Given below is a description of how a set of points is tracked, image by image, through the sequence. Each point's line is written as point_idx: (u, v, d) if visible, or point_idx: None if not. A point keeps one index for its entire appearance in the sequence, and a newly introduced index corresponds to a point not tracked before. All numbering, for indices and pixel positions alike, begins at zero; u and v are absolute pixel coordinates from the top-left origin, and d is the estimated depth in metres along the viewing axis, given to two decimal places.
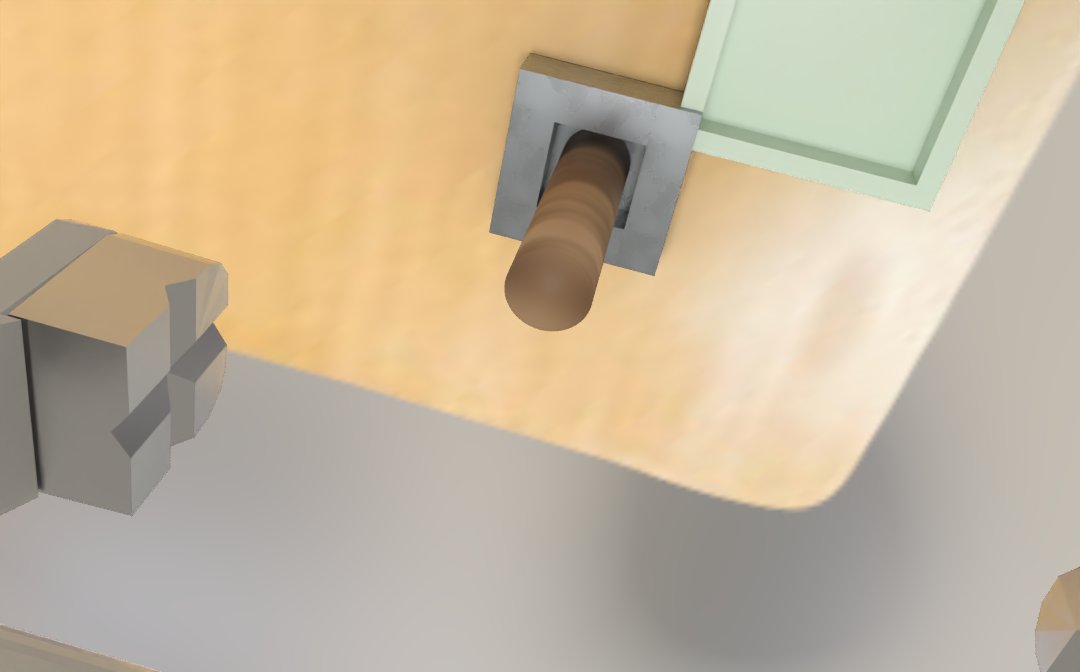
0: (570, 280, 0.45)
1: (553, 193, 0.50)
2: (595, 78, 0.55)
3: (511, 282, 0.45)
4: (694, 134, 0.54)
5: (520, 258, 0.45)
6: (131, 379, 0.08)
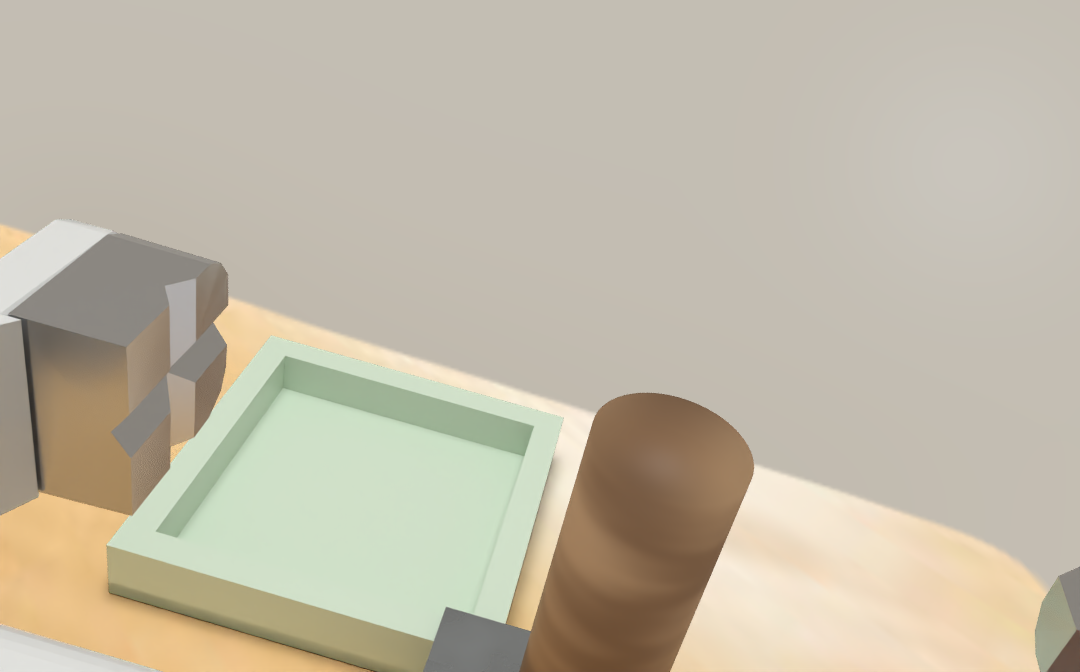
0: (640, 414, 0.25)
1: (544, 655, 0.27)
2: None
3: (666, 490, 0.23)
4: (475, 617, 0.36)
5: (613, 475, 0.23)
6: (131, 379, 0.08)
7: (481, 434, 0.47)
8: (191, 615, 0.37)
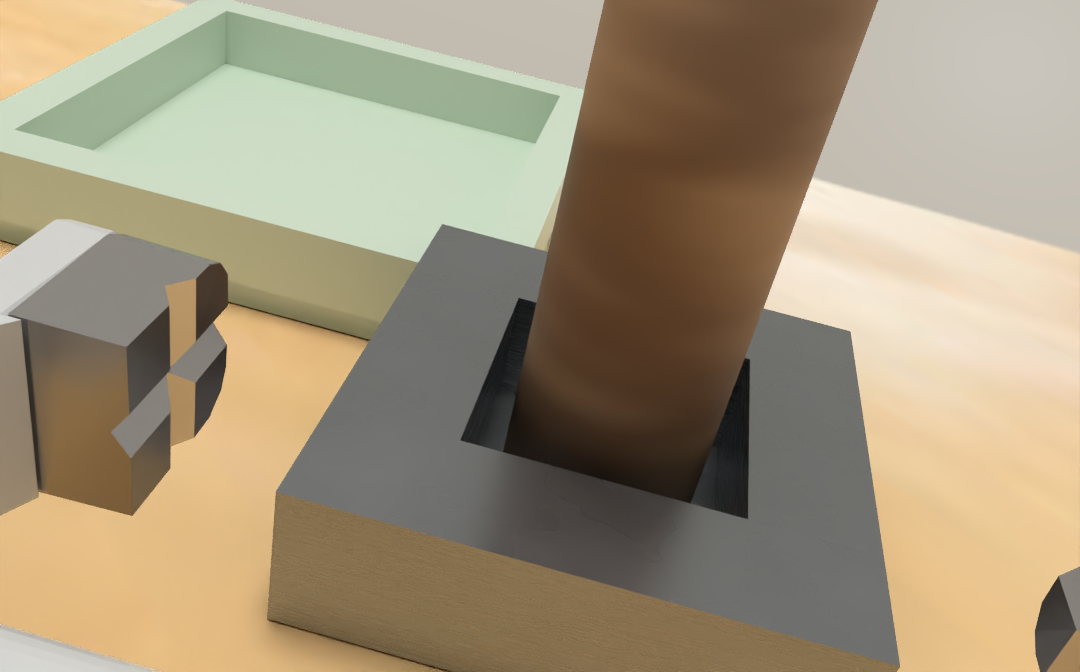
0: None
1: (613, 79, 0.15)
2: None
3: None
4: (486, 237, 0.24)
5: None
6: (131, 379, 0.08)
7: (489, 116, 0.35)
8: None
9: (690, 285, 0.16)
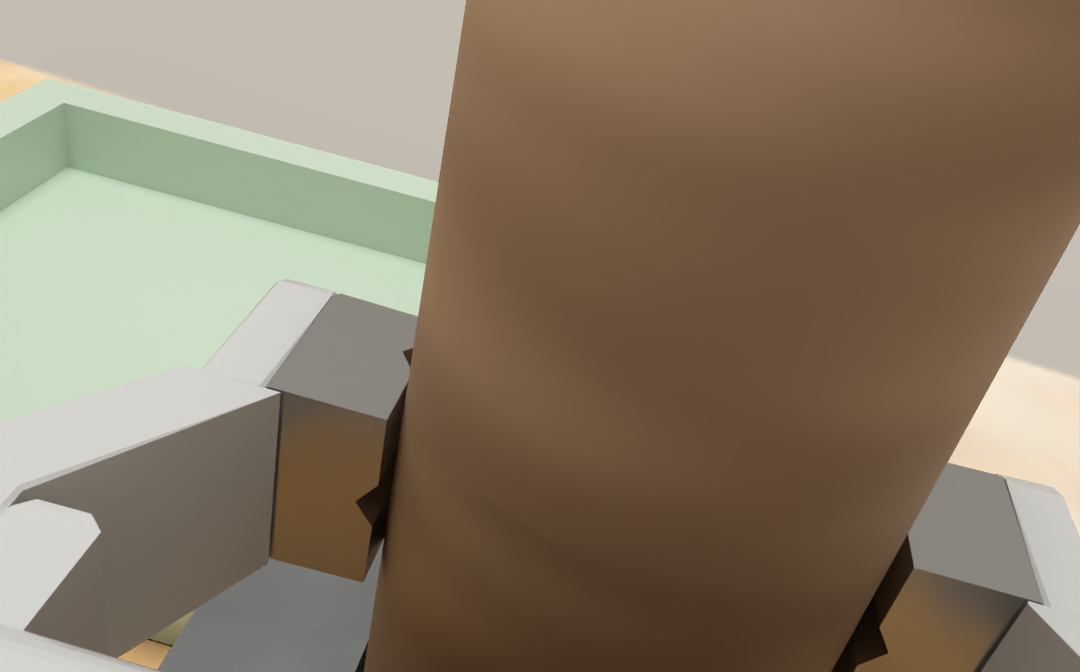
0: None
1: (422, 513, 0.07)
2: None
3: None
4: None
5: None
6: (383, 450, 0.08)
7: (404, 239, 0.27)
8: None
9: None
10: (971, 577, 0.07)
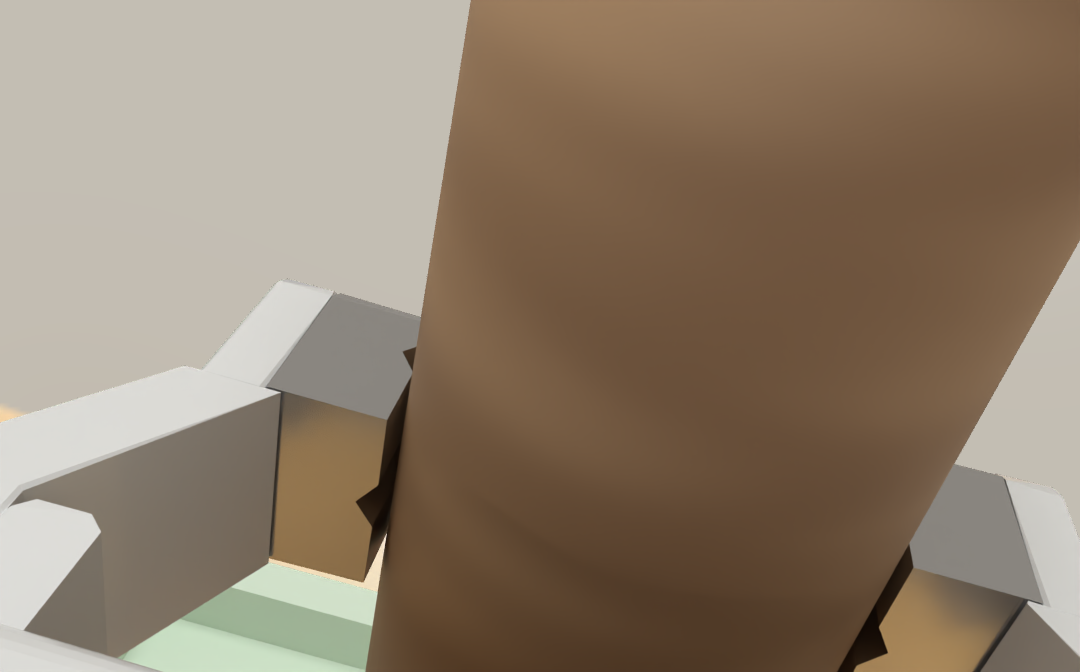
0: None
1: (424, 517, 0.07)
2: None
3: None
4: None
5: None
6: (382, 450, 0.08)
7: None
8: None
9: None
10: (971, 577, 0.07)
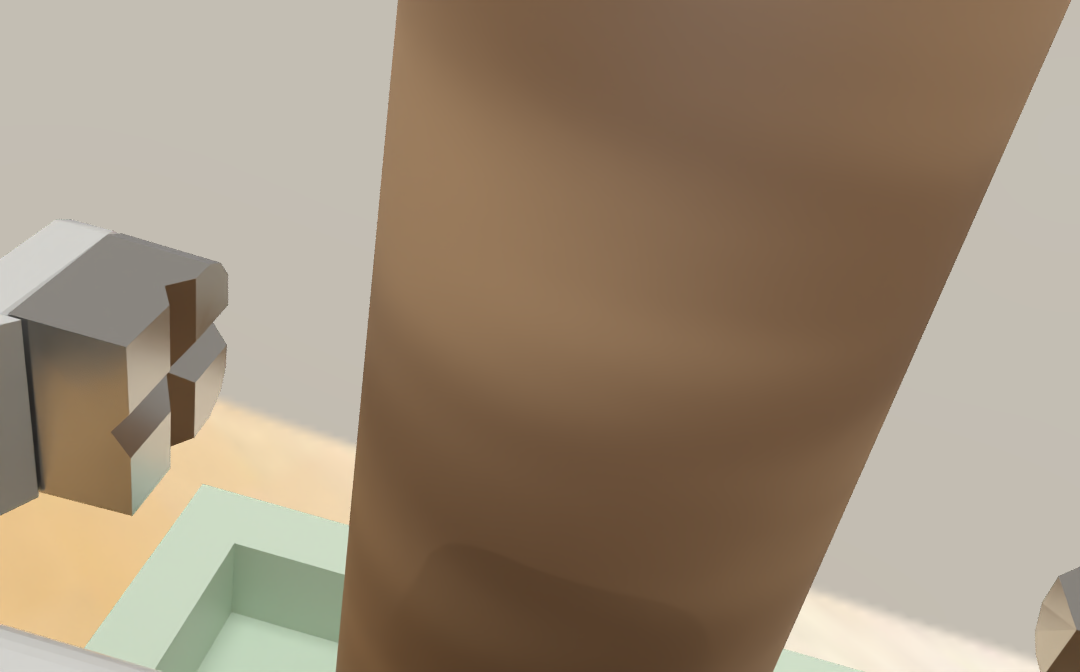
0: None
1: (359, 665, 0.09)
2: None
3: None
4: None
5: None
6: (131, 379, 0.08)
7: None
8: None
9: None
10: None
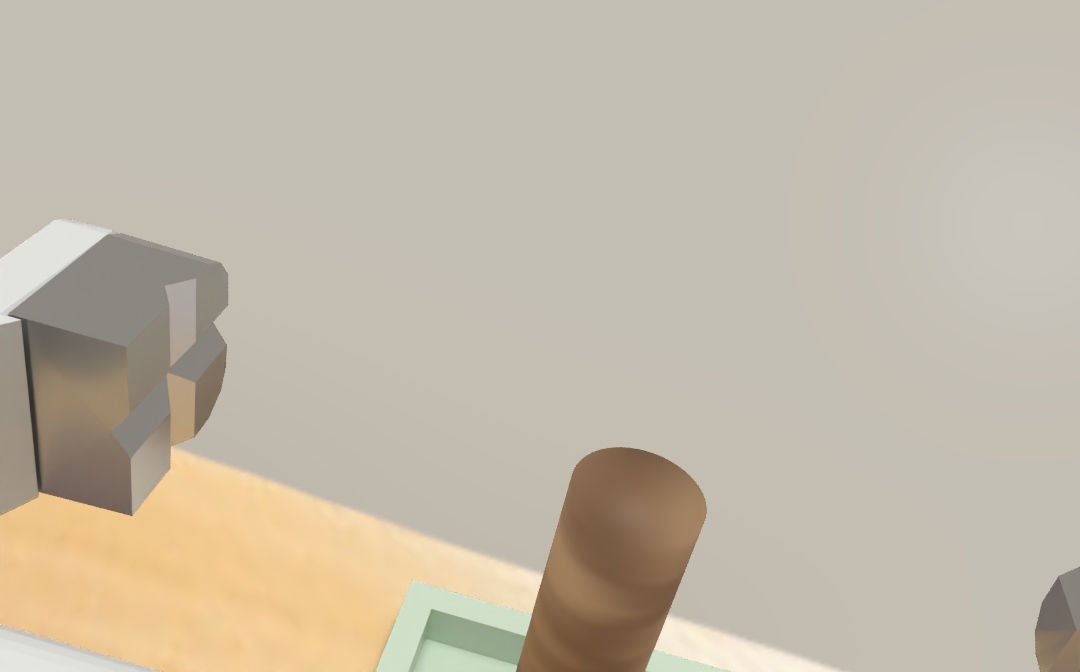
0: (612, 467, 0.30)
1: (533, 668, 0.32)
2: None
3: (631, 533, 0.28)
4: None
5: (588, 520, 0.28)
6: (130, 379, 0.08)
7: None
8: None
9: None
10: None
